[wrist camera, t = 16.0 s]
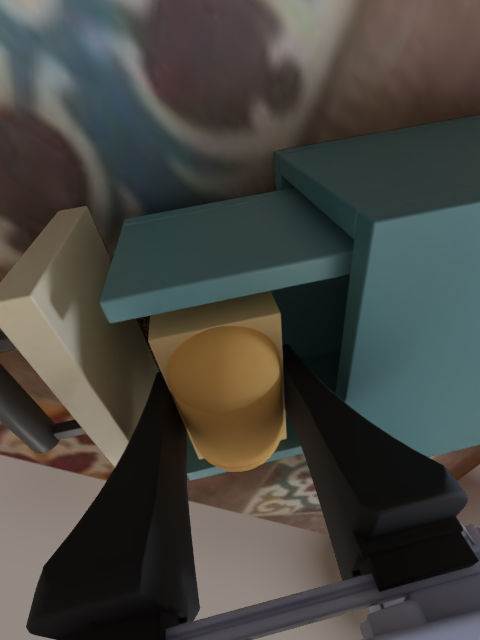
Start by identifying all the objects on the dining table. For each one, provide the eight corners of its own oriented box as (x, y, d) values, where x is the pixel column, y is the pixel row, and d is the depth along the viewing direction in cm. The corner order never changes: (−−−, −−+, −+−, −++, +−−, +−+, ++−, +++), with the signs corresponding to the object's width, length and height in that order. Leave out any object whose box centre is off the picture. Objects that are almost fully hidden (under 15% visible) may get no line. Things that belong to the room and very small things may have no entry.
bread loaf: (271, 391, 17) (298, 475, 13) (194, 409, 16) (201, 499, 13) (260, 269, 12) (298, 350, 8) (151, 291, 12) (144, 384, 8)
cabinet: (283, 360, 22) (332, 481, 16) (273, 150, 14) (373, 222, 7) (484, 316, 23) (610, 412, 17) (594, 94, 15) (947, 109, 8)
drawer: (75, 411, 20) (43, 528, 15) (-66, 233, 12) (-238, 348, 7) (357, 348, 21) (417, 436, 16) (390, 150, 14) (529, 197, 8)
